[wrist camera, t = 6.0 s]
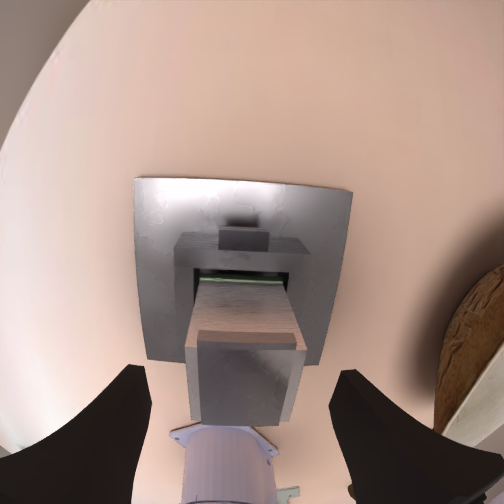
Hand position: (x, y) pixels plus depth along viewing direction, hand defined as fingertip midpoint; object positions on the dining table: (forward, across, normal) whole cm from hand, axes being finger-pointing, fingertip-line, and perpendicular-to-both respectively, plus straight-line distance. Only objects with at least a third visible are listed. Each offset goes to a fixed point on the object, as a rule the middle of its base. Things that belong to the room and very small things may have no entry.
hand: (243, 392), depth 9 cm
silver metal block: (+6, 0, 0) cm, 6 cm away
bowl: (+10, -26, +4) cm, 28 cm away
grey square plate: (+10, 0, 0) cm, 10 cm away
